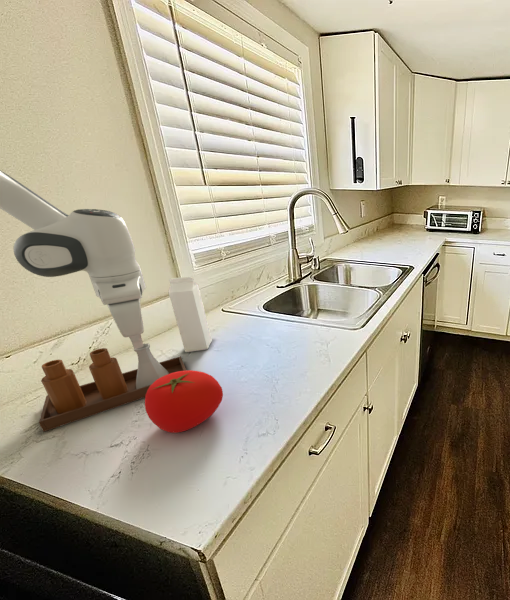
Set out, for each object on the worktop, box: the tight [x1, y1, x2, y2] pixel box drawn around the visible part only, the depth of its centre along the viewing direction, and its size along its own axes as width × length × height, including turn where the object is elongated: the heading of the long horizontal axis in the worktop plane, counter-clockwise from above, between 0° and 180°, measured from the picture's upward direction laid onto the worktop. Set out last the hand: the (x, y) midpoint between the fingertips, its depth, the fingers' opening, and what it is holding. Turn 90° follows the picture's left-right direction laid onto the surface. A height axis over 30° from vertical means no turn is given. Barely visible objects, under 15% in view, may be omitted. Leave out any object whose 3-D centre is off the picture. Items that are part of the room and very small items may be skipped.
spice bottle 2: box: [88, 347, 128, 400], centre depth 75 cm, size 5×5×12 cm
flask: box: [133, 342, 169, 389], centre depth 80 cm, size 7×7×10 cm
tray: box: [38, 355, 187, 432], centre depth 78 cm, size 26×11×2 cm, turn 130°
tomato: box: [144, 369, 224, 434], centre depth 67 cm, size 12×14×11 cm
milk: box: [168, 276, 213, 353], centre depth 96 cm, size 6×6×22 cm
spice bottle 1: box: [40, 359, 87, 414], centre depth 71 cm, size 5×5×12 cm
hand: (137, 339), depth 78 cm, fingers open, 8 cm apart
